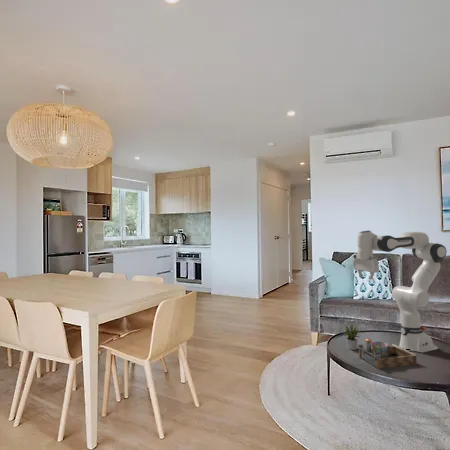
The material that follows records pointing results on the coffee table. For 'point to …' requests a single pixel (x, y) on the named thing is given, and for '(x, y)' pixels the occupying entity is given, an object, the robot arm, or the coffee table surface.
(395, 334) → the coffee table surface
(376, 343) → the mug
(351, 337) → the house plant
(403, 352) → the tray
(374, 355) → the ram
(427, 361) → the coffee table surface
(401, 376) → the coffee table surface
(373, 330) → the coffee table surface
